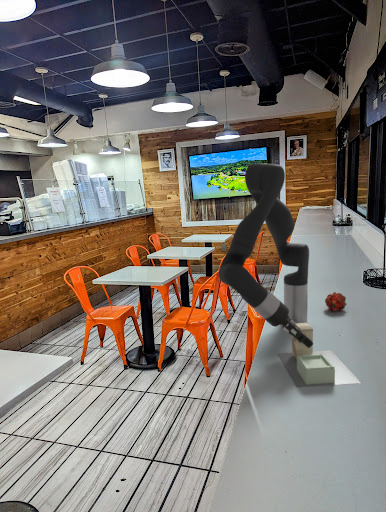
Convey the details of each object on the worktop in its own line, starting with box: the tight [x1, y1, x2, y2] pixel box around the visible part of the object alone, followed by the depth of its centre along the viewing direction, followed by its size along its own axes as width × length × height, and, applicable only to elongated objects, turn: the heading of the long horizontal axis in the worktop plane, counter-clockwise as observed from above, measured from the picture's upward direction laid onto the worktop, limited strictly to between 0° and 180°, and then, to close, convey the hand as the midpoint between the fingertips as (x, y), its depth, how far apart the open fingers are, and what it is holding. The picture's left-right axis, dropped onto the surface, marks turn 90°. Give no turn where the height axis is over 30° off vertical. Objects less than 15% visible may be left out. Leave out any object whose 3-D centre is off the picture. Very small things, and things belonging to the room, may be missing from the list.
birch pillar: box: [291, 322, 314, 359], centre depth 109 cm, size 5×5×10 cm
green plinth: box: [297, 354, 335, 385], centre depth 99 cm, size 8×8×5 cm
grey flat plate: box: [277, 349, 362, 388], centre depth 104 cm, size 20×18×1 cm
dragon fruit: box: [324, 291, 348, 312], centre depth 152 cm, size 8×8×12 cm
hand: (307, 341), depth 109 cm, fingers closed on birch pillar, 5 cm apart
